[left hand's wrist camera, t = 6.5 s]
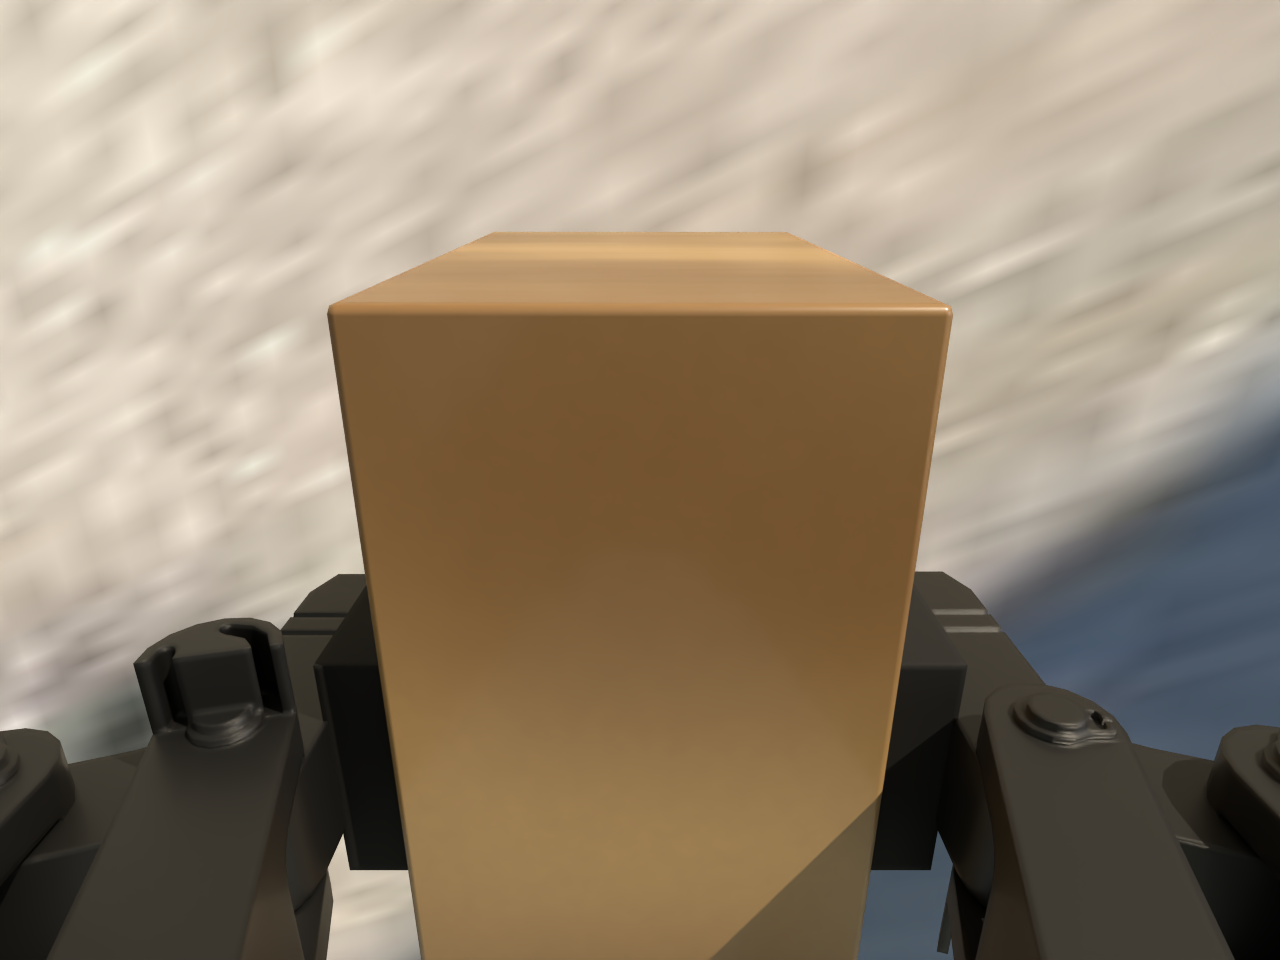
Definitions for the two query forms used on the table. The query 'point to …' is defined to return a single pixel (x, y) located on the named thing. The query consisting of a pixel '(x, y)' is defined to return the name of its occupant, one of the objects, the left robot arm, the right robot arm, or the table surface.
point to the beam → (639, 583)
